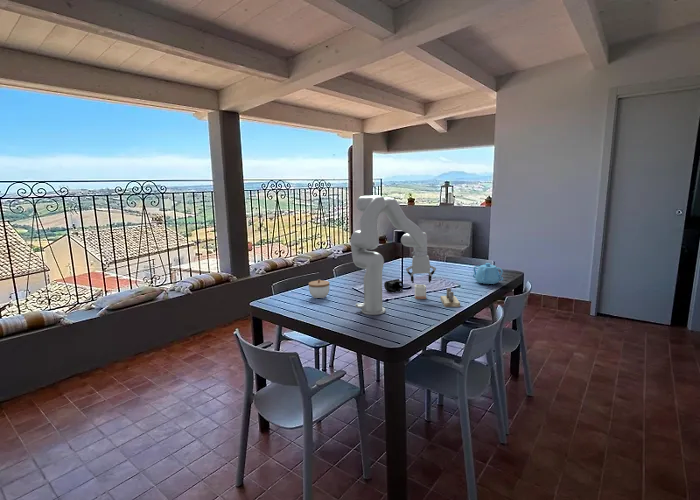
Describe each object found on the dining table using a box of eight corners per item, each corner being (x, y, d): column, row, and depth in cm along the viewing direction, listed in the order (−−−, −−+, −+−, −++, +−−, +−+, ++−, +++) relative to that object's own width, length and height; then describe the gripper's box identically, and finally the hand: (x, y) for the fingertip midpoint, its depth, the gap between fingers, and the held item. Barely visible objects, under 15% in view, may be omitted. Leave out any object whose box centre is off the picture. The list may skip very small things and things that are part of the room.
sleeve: (415, 298, 211) (415, 287, 210) (414, 296, 217) (414, 284, 216) (426, 298, 211) (426, 287, 210) (424, 296, 217) (424, 284, 216)
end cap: (396, 288, 237) (395, 278, 236) (403, 290, 231) (403, 280, 230) (384, 290, 231) (383, 280, 230) (391, 293, 226) (391, 282, 225)
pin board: (444, 306, 195) (444, 294, 194) (440, 299, 209) (440, 287, 208) (459, 306, 195) (460, 293, 194) (454, 299, 209) (454, 287, 207)
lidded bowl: (327, 300, 213) (326, 282, 211) (306, 300, 215) (305, 281, 214) (332, 294, 225) (331, 277, 223) (312, 294, 228) (312, 277, 226)
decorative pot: (470, 280, 251) (471, 261, 249) (494, 279, 252) (494, 260, 249) (480, 286, 235) (480, 266, 233) (504, 285, 235) (505, 264, 233)
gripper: (405, 255, 207) (406, 284, 210) (436, 254, 206) (437, 283, 209) (405, 252, 215) (405, 281, 218) (434, 251, 213) (435, 280, 216)
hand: (421, 282), depth 213 cm, fingers open, 9 cm apart
